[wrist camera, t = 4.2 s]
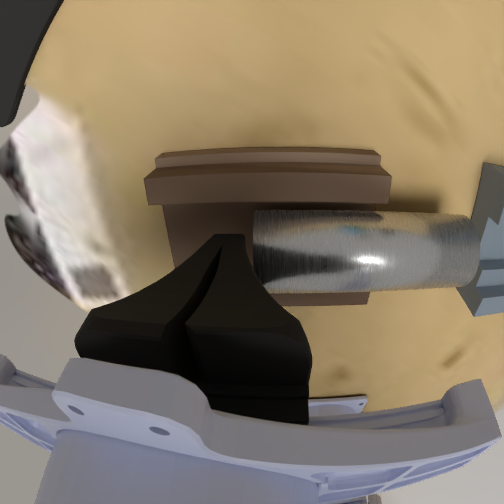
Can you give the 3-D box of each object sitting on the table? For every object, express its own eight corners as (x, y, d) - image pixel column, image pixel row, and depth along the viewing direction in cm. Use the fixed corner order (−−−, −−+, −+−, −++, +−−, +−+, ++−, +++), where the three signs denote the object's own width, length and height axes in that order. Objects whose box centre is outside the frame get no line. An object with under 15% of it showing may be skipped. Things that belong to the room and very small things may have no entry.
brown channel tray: (355, 281, 17) (365, 310, 14) (184, 280, 17) (173, 309, 15) (373, 150, 12) (393, 165, 10) (162, 153, 13) (141, 168, 11)
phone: (-42, 95, 10) (53, -94, 3) (-34, 93, 11) (60, -91, 4) (6, 133, 12) (129, -91, 5) (14, 130, 13) (135, -85, 6)
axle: (452, 202, 12) (489, 238, 9) (437, 259, 14) (463, 301, 11) (256, 197, 13) (251, 237, 10) (259, 261, 15) (255, 311, 12)
